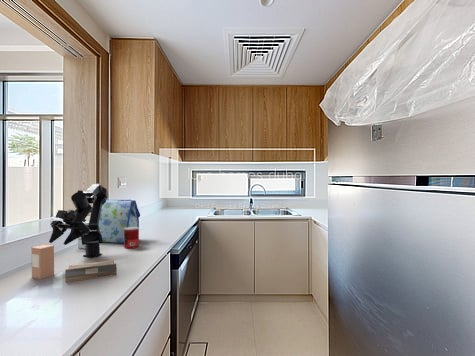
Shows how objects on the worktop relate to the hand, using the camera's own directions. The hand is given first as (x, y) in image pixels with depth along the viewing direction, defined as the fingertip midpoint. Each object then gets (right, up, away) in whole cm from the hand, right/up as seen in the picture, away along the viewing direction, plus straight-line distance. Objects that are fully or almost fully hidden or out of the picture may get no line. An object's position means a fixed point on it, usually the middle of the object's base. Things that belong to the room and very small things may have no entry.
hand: (57, 243), depth 124 cm
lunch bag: (+2, -12, +61) cm, 62 cm away
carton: (-2, -12, -5) cm, 13 cm away
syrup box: (-11, -12, +44) cm, 47 cm away
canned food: (+16, -12, +43) cm, 48 cm away
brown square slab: (+15, -12, -1) cm, 19 cm away
